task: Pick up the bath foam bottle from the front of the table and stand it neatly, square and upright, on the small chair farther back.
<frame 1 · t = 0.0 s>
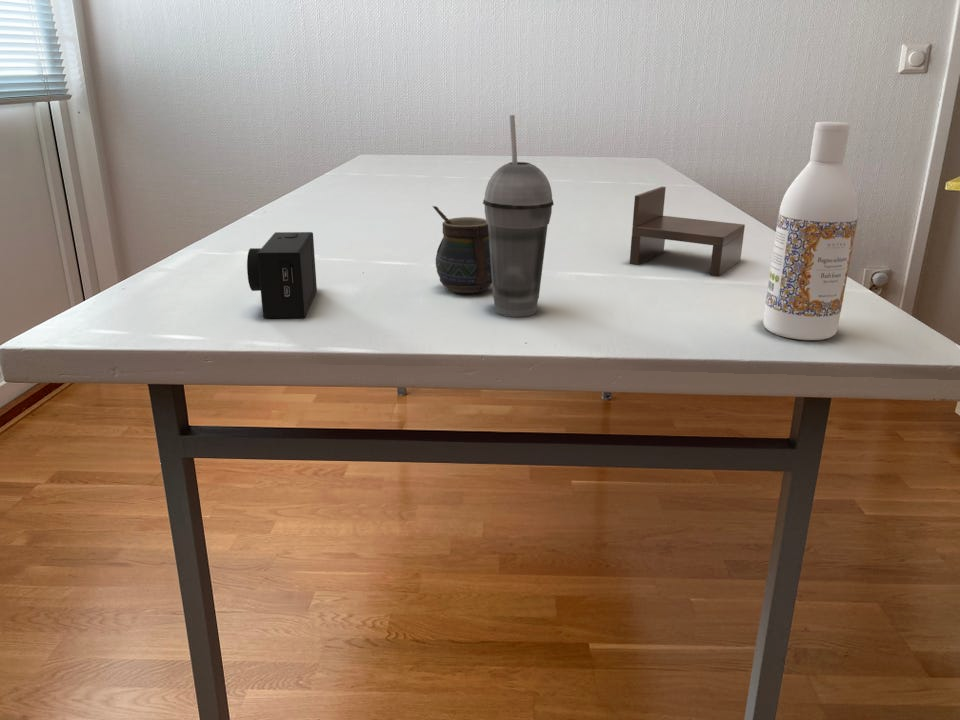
digital camera: (286, 305, 85), on the table
bath foam: (798, 332, 78), on the table
beverage cup: (515, 312, 83), on the table
chair: (685, 262, 105), on the table
mate gourd: (465, 291, 91), on the table
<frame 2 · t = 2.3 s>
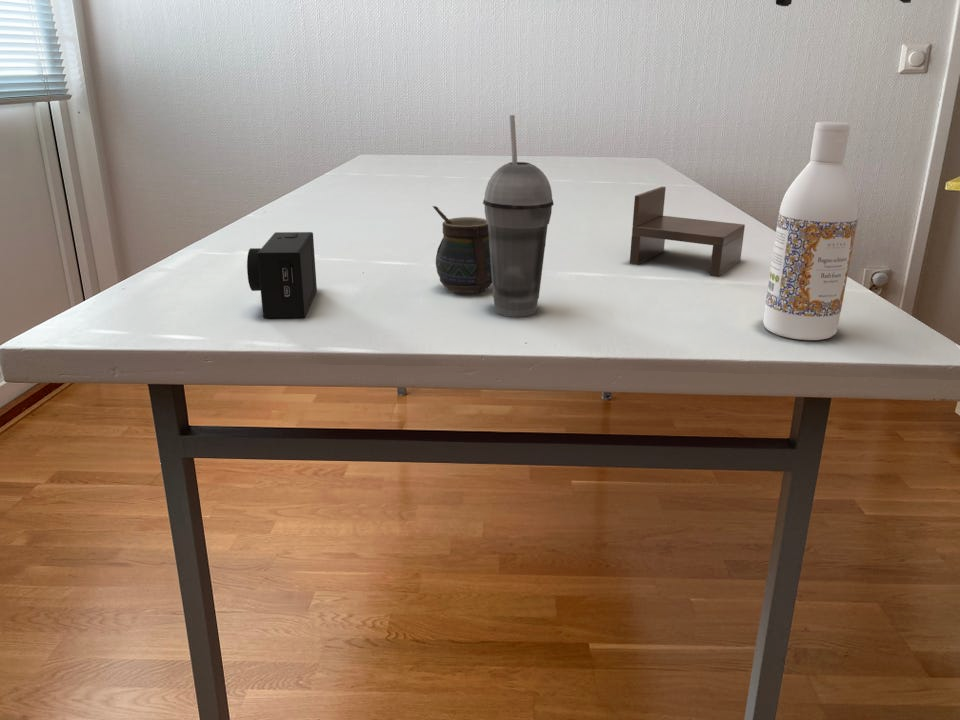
hand: (841, 3, 67), 30 cm above the table, tool pointing down, fingers open, 9 cm apart
nothing on the table moved.
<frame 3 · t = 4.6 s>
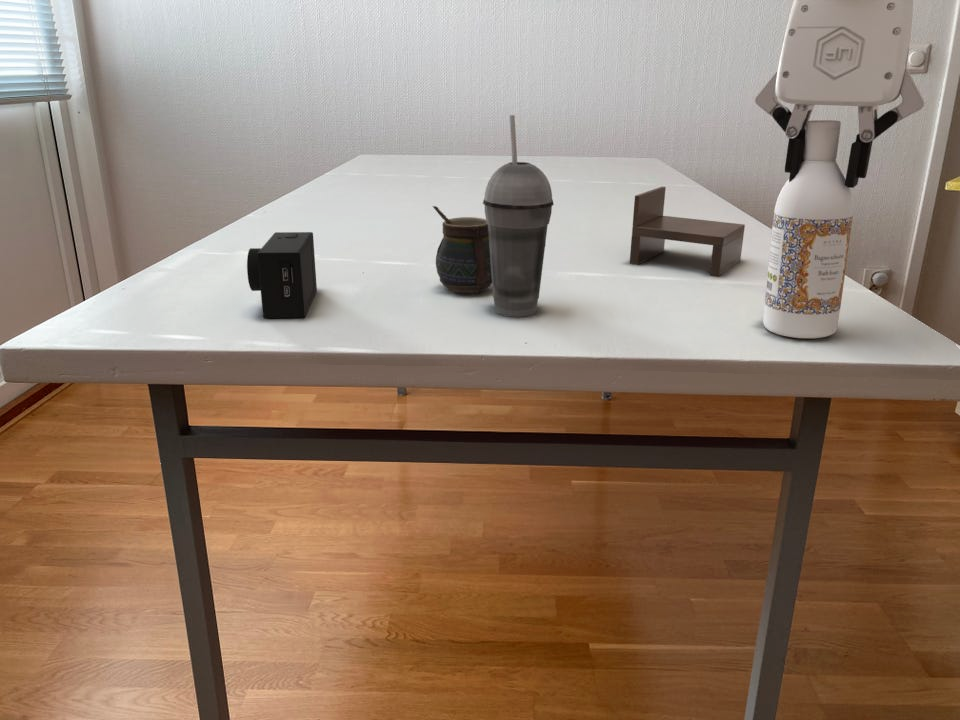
hand: (823, 181, 73), 15 cm above the table, tool pointing down, fingers closed on bath foam, 4 cm apart
bath foam: (798, 331, 78), on the table, touching gripper
everything else where it was.
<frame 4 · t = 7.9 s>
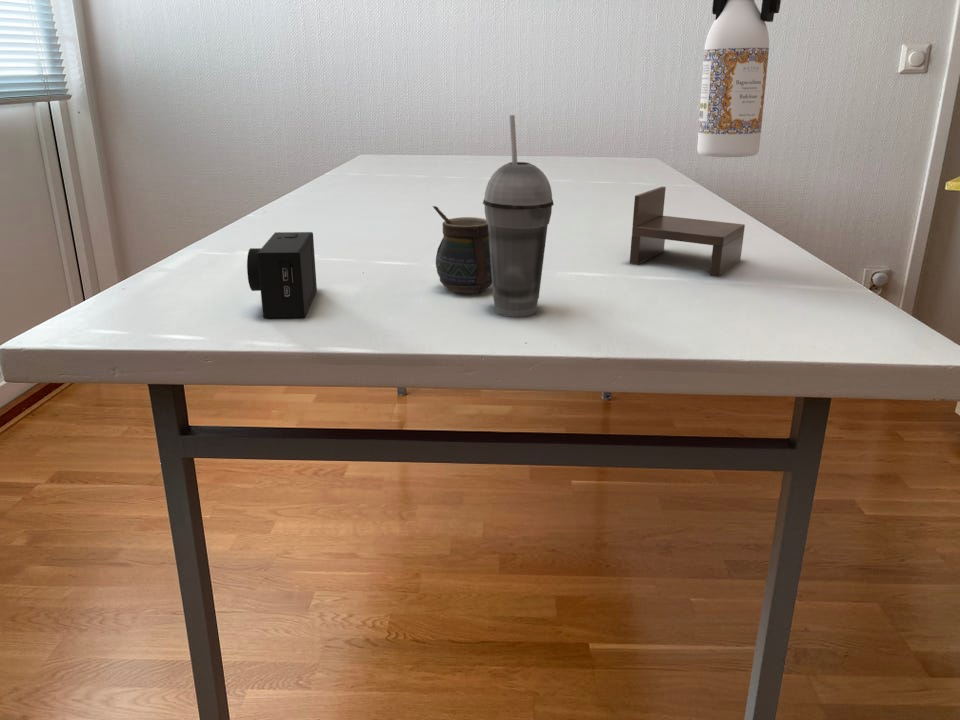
hand: (744, 19, 86), 30 cm above the table, tool pointing down, fingers closed on bath foam, 4 cm apart
bath foam: (727, 156, 91), point 15 cm above the table, touching gripper
everything else where it was.
when the fingers open (20 cm above the table, at t = 11.1 s): bath foam stays where it is, resting on chair.
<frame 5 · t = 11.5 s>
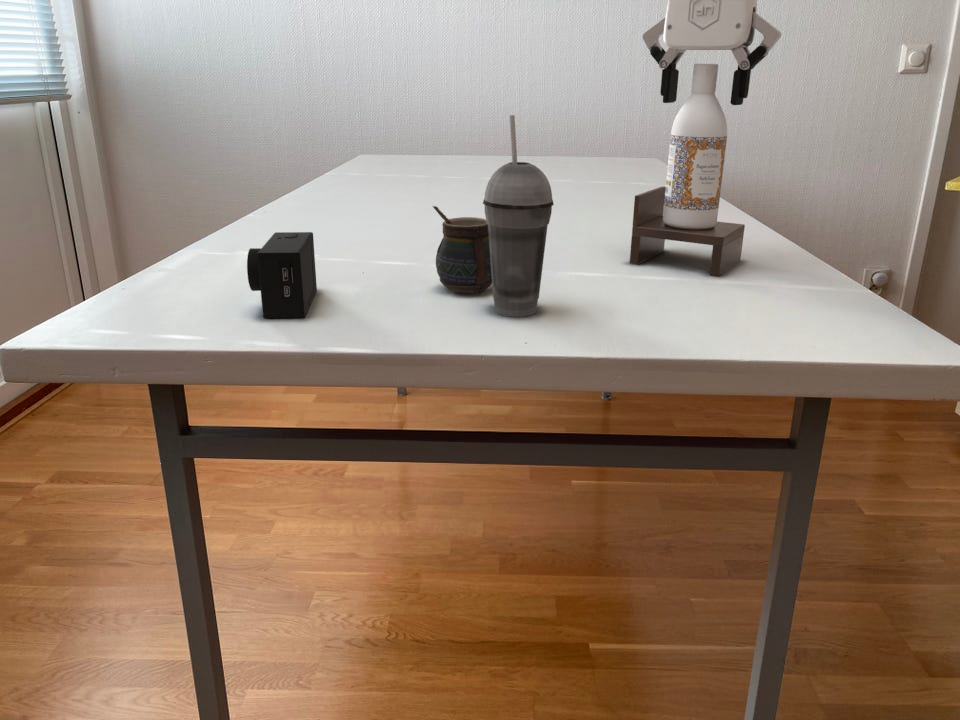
hand: (702, 102, 97), 20 cm above the table, tool pointing down, fingers open, 8 cm apart
bath foam: (688, 226, 103), point 5 cm above the table, touching chair
everything else where it was.
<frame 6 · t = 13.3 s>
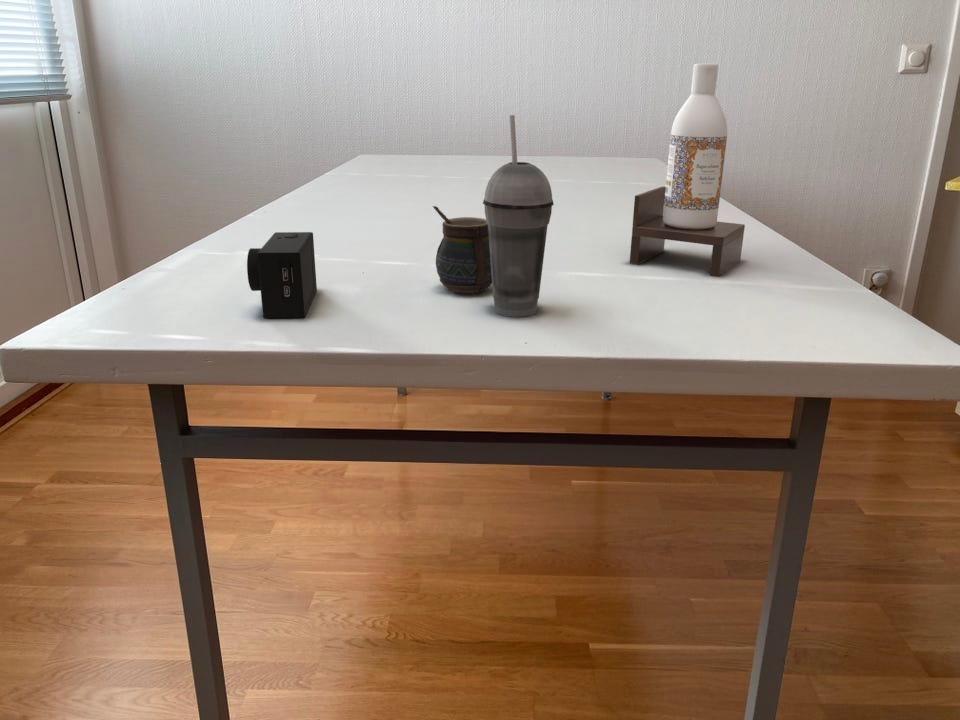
nothing on the table moved.
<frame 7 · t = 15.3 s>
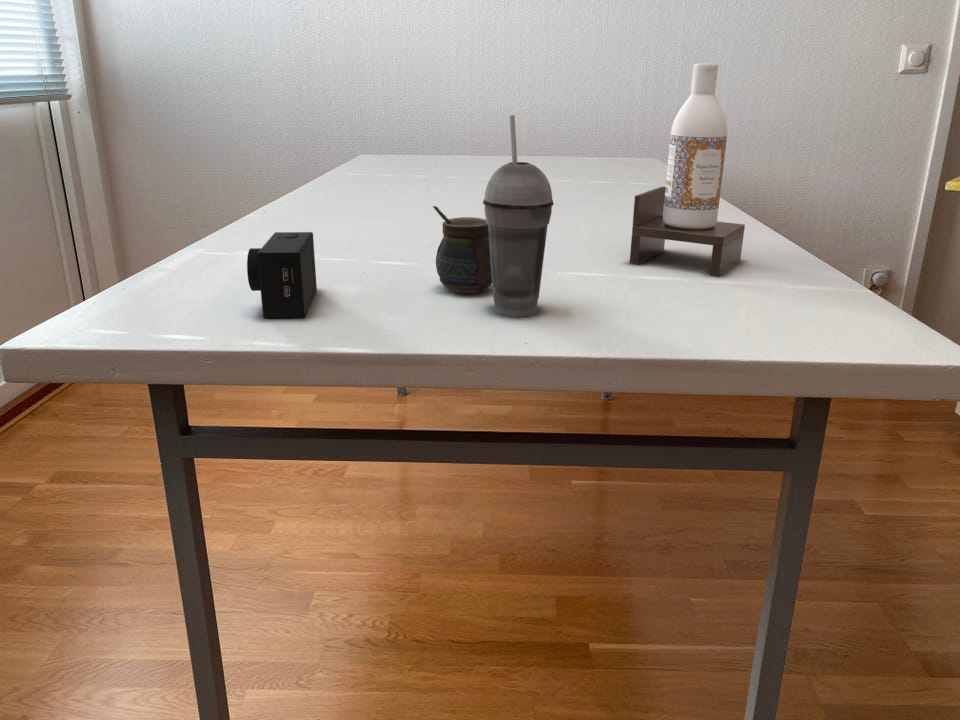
nothing on the table moved.
at the end: bath foam 0.1 cm off-centre on the chair, point 4.8 cm above the chair's base; bath foam tilted 0°; the gripper is holding nothing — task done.
